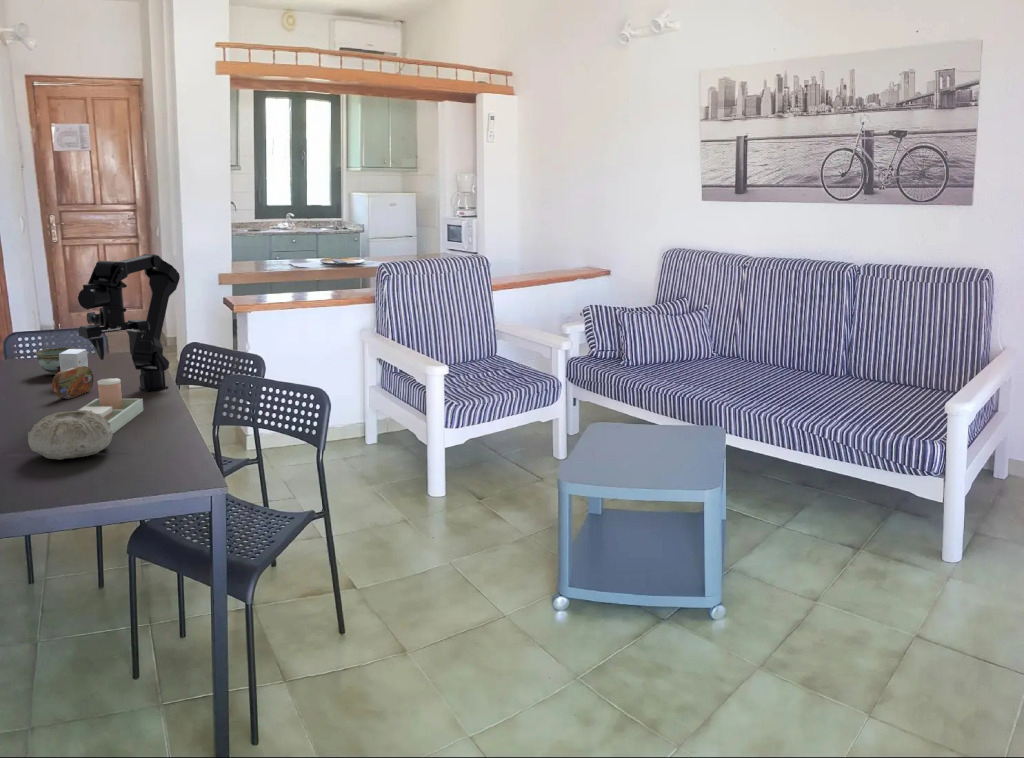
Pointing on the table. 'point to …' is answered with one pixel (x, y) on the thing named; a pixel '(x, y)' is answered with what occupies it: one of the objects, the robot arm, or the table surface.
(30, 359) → the table surface
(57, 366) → the bowl
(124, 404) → the tote
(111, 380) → the canister
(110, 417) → the block
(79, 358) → the small box
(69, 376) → the tin
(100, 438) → the grey rounded lump
